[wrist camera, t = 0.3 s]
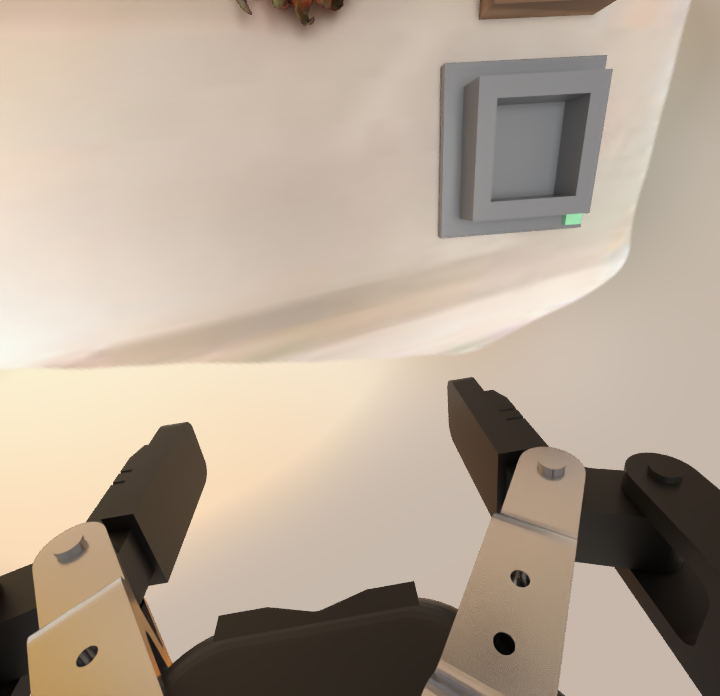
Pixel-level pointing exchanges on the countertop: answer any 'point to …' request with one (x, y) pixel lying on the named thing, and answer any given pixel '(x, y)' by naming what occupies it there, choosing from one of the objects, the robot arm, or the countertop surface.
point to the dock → (519, 143)
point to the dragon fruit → (298, 7)
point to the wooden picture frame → (539, 8)
